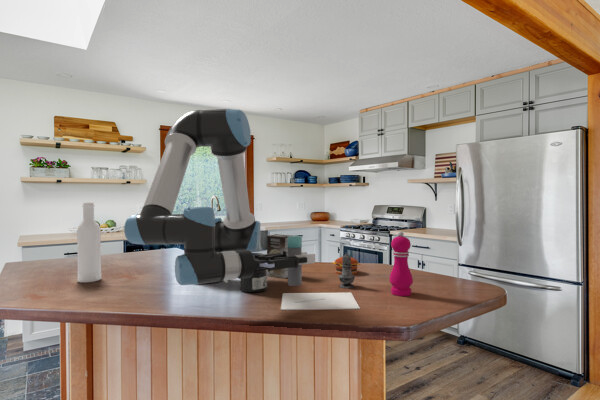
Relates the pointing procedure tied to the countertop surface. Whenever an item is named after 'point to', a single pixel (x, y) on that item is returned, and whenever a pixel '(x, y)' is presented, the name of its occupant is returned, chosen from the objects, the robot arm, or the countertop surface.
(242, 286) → the ink bottle
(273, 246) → the coffee box
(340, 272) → the hamburger
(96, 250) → the bottle
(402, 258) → the pepper mill
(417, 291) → the countertop surface
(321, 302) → the paper
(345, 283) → the chess piece
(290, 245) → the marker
